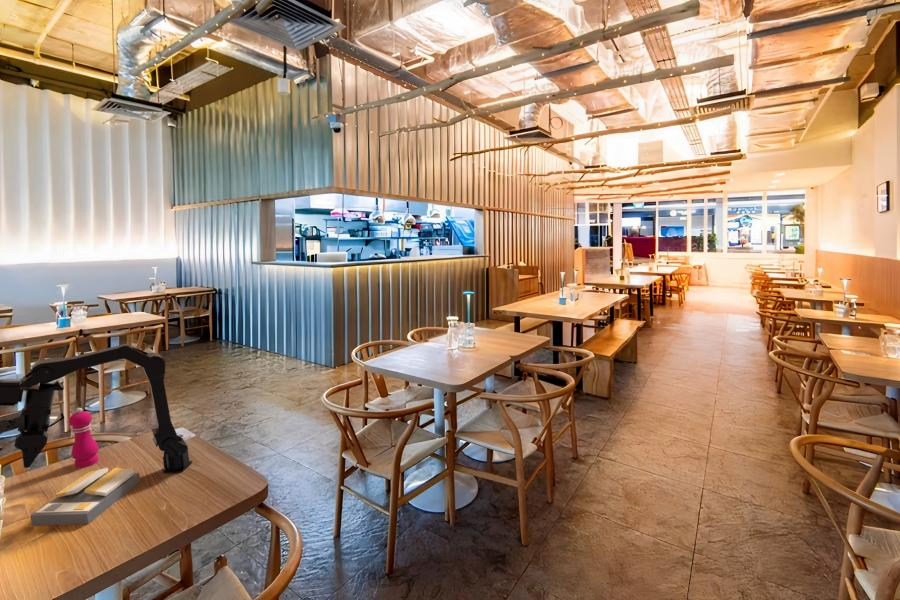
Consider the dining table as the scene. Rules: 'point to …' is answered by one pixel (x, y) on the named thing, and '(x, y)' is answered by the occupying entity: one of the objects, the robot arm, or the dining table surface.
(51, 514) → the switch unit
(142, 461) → the dining table surface
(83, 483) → the switch
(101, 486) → the switch
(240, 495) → the dining table surface
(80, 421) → the pepper mill
